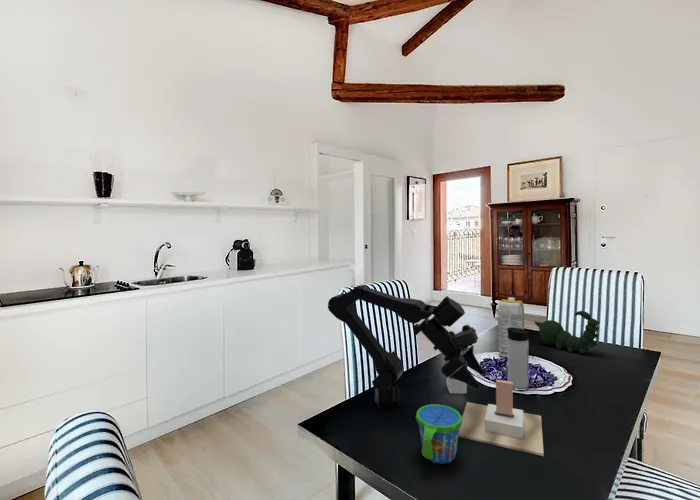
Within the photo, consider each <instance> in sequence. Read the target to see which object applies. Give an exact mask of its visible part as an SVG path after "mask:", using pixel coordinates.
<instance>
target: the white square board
mask: <svg viewBox="0 0 700 500" xmlns="http://www.w3.org/2000/svg"><path fill="white" fill-rule="evenodd" d="M487 406H488V407H487V412H486V417H485V431H489V432H494V433H498V434H503V435H508V436H512V437H517V438H522V439H523V413H524V410H523V409H518V408H514V407H513V416H508V415H503V414H497V413H496V404H492V403H487Z"/></svg>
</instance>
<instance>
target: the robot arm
mask: <svg viewBox="0 0 700 500" xmlns="http://www.w3.org/2000/svg"><path fill="white" fill-rule="evenodd" d="M359 300H361V301H363V302H366V303H369V304H370V305H374V306H377V307H380V308H382V309H386V310H388V311H391V312H393V313H394V314H396V315H397V316H398V317H399V318H401V319H403V320H404V321H406V322H408V323H410V324H415V325H413V328H414V331H413V334H414V336H418V334H419V333H420V332H421V334H423V335H424V336H425V337H426V339H428V341H429V342H430V343H431V344H432V345H433V347H432V348H433V350H434V351H437V350H438V351H439V352H440V353H441V354H442V355H443V356H444V358H443V360H444V362H443V364H442V366H441V373H442V375H443V376H444V377H445V379H447V378H448V377H450V378H454V379H456V380H459V381H462V382H464V383H466V384H467V385H468V386H471V387H473V388H476V389H478V388H479V387H481V386H480V383H479V382H478V381H477V379H476V378H475V376H474V375H473V373H471V371H470V370H469V368H470V369H471V370H473V371H474V372H476V373H478V374H479V375H482V374H484V372H485V371H484V370H483V368H482V366H481V364H480V363H479V361H478V359H477V357H476V356H475V354H474V348H475V347H474V346H475V345H474V344H476V343H478V340H479V336H478V334H477V333H476V332H477V330H476V329H474V327H471V325H469V324H465V325H462V328H461V331H459V332H457V333H456V332H454V331H453V330H452V331H451V330H448V329H447V328H446V327H452V326H453V325H454V324H455V323H456V322H457V321H459V320H460V318H462V317H463V316H464V315H465V313H466V312H465V311H466V310H464V308H463V307H462V306H461V304H460V303H459V302H456V300H454V299H452V298H450V297H449V296H448V295H446V296H445V297H444V298H443V299H442V300H441V302H440V303H438V305H432V304H427V303H426V302H424V301H422V300H421V299H415V298H405V297H398V296H395V295H392V294H389V293H385V292H383V291H380V290H377V289H374V288H371V287H368V286H367V285H364V284H360V285H357V286H355V287H353V288H352V289H350V290H349V291H347V292H346V293H344V292H343V293H340V294H337V295H335V296H333V297H331V298H329V300H328V302H327V303H328V304H327V309H328V311H329V312H330V313H331V314H332V315H333V316H334V317H335V318H336V319H337V320H339V321H341V322H343V323H344V324H345V325H346V326H347V327H348V328H349V330H350V331H351V333H352V334H353V335H354V337H355V338H356V339H357V341H358V342H359V343H360V344H361V346H362V347H363V349H364V350H365V351H366V352H367V354H368V356H370V358H371V359H372V360H373V365H374V369H375V371H376V373H377V376H376V377H375V378H374V379H373V380H372V381H371V382H372V386H373V388H374V391H375V392H374V393H375V394H374V395H375V396H374V397H373V401H374V402H375V404H376V405H377V407H378V408H379V409H380V410H385V409H389V408H395V407H399V406H400V405H401V404H400V402H399V401H400V395H399V394H400V391H399V387H398V384H397V381H398V379H400V377H401V376H402V375H403V373H404V364H403V363H402V362H403V360H402V359H401V358H400V357H399V356H398V355H397V353H396V351H394V350H393V351H392V352H389V351H387V350H386V349H385V348H384V347H383V345H382V344H381V343H380V342H379V340H378V339H377V338H376V336H375V335H374V334H373V333H372V331H371V330H370V328H369V327H368V326H367V325H366V323H365V322H364V321H363V320H362V318H361V317H360V315H359V314H358V312H357V306H356V305H355V303H356V302H358V301H359ZM432 315H433V317H431V316H432ZM430 317H431V318H430ZM429 318H430V319H429ZM419 322H420V323H419Z"/></svg>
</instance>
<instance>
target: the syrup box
mask: <svg viewBox="0 0 700 500" xmlns="http://www.w3.org/2000/svg"><path fill="white" fill-rule="evenodd" d="M467 385H468V384H466V383H464V382H462V381H459V380H456V379H454V378H450V377H448V378H446V387H447V390H448V392H449V394H460V395H462V394H467V387H468V386H467Z"/></svg>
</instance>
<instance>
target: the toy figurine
mask: <svg viewBox="0 0 700 500" xmlns="http://www.w3.org/2000/svg"><path fill="white" fill-rule="evenodd" d="M574 316H581V317H582V318H584V320H587V322H586V323H587V324H586V325H585V328H584V329H585V330H584V331H583V332H582V335H581V336H580V337H579V336H575V335H572V334H571V333H570V332H569V331H567V330H565V329H564V328H563V325H561V323H559V322H558V321H555V320H552V319H551V320H550V319H549V320H548V319H547V320H545V321H542V322H541V321H534V322H533V323H534V324H535V325H536V326H537V327H538V328H539V329H538V331H539V337H540V338H542V339H543V340H542V342H543V343H544V345H546V346H550V345H552V343H555V347H556V348H557V349H559V350H560V349H563V348H567V349H566V350H567V352H568V353H570V354H571V353H573V352H575V351H578V352H579V353H580V354H584V353H585V352H588V351H589V350H590V348H593V347H596V346H598V345H597V344H598V342H596V341H595V338H596V339H598V337H599V335H598V334H597V333H596V332H598V331H599V329H600V328H599V327H597V326H598V325H599V324H600V322H599V321H598V320H597V319H595V318H592V317H591V314H590V313H588V311H584V310H579V311H576V312H575V313H574Z"/></svg>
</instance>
